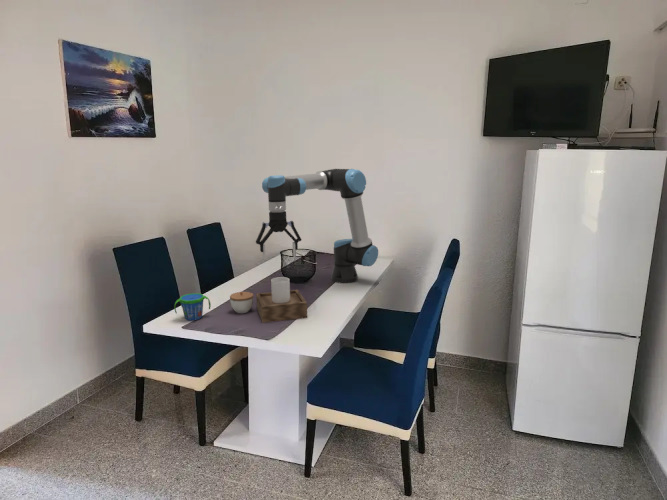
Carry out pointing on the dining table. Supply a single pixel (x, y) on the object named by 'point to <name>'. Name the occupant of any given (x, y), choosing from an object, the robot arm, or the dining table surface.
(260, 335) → the dining table surface
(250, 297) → the lidded jar
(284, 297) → the mug
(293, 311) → the walnut box
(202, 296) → the snack cup
